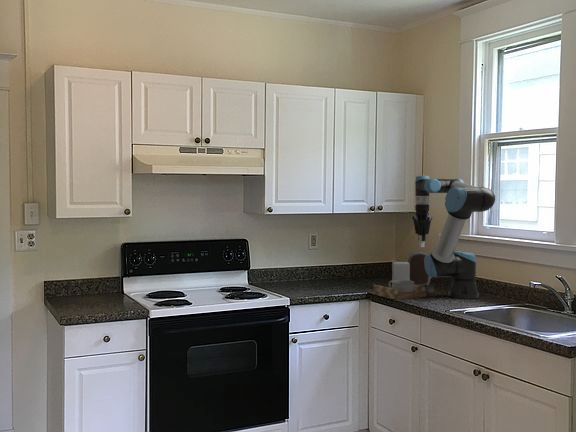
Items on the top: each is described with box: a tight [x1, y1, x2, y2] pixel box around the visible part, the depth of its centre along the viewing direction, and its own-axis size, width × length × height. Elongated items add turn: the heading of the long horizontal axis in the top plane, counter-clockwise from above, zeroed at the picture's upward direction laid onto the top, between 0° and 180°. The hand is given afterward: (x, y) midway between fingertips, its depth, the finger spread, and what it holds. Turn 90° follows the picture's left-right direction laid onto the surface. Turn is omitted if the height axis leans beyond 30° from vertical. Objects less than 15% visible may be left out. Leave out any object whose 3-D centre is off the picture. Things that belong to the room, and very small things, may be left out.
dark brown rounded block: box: [407, 250, 433, 287], centre depth 361 cm, size 15×8×20 cm, turn 78°
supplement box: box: [391, 261, 410, 288], centre depth 346 cm, size 9×9×15 cm
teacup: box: [387, 280, 414, 293], centre depth 324 cm, size 14×11×8 cm
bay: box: [373, 278, 439, 301], centre depth 327 cm, size 21×27×9 cm
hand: (421, 247), depth 342 cm, fingers closed
